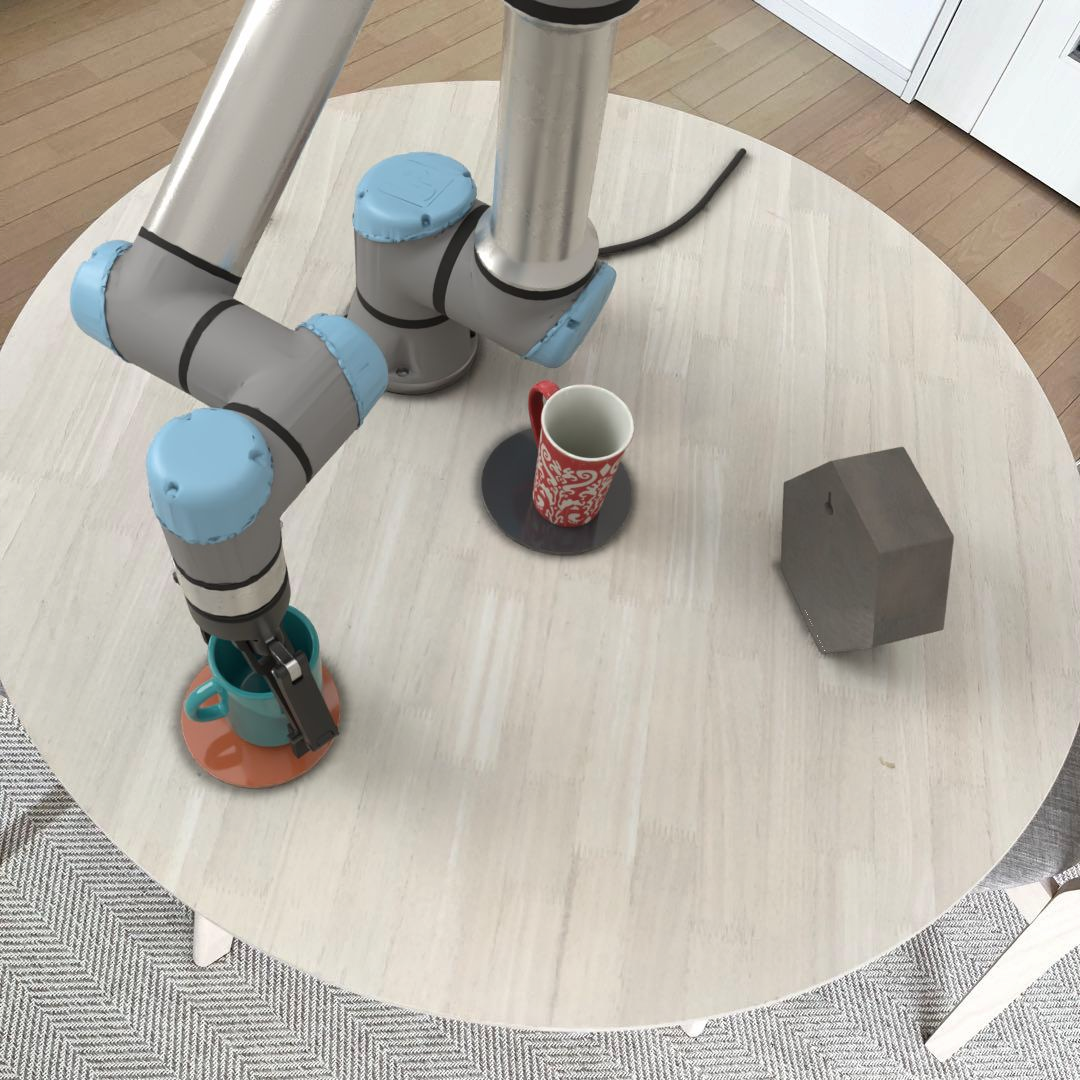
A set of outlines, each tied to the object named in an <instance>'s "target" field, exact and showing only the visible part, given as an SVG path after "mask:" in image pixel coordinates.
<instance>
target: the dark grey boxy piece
mask: <svg viewBox="0 0 1080 1080" xmlns="http://www.w3.org/2000/svg"><path fill="white" fill-rule="evenodd" d="M782 489H783V490H782V514H781V515H782V517H781V539H780V540H781V543H780V570H781V573H782V574H783V576H784V578H785V580H786V583H787V585H788V588H789V589H790V591H791V593H792V595H793V597H794V600H795V602H796V604H797V606H798V608H799V610H800V612H801V615H802V617H803V620H804V621H805V623H806V625H807V628H808V630H809V632H810V634H811V636H812V638H813V640H814V642H815V645H816V647H817V649H818V651H819V653H821V654H825V653H826V654H828V653H836V652H837V653H838V652H845V651H846V652H847V651H855V650H863V649H864V650H865V649H871V648H876V647H880V646H884V645H888V644H892V643H897V642H901V641H904V640H908V639H912V638H916V637H920V636H925V635H928V634H932V633H936V632H941V631H943V630H944V627H945V621H946V611H947V603H948V594H949V585H950V576H951V569H952V560H953V559H952V558H953V551H954V542H955V541H954V540H955V536H954V533H953V532H952V530H951V528H950V526H949V525H948V523H947V520H946V519H945V517H944V516H943V514H942V512H941V510H940V508H939V507H938V505H937V504H936V501H935V499H934V498H933V496H932V495H931V493H930V490H929V488H928V487H927V486H926V484H925V482H924V480H923V478H922V476H921V475H920V472H919V471H918V470H917V468H916V466H915V464H914V462H913V461H912V458H911V457H910V455H909V453H908V452H907V450H906V448H905V447H904V446H898V447H893V448H887V449H881V450H878V451H872V452H868V453H863V454H858V455H853V456H848V457H847V456H846V457H843V458H838V459H833V460H829V461H827V462H825V463H823V464H820V465H818V466H817V467H814V468H812V469H810V470H807V471H806V472H803V473H801V474H799V475H797V476H794V477H793V478H790V479H788V480H786V481H784V482H783V486H782ZM805 610H806V611H805ZM806 612H807V613H806ZM807 614H808V615H807ZM809 619H810V620H809ZM810 621H811V622H810ZM811 623H812V624H811ZM812 625H813V626H812ZM817 635H818V637H817ZM819 640H820V641H819ZM820 642H821V643H820ZM822 646H823V647H822ZM824 650H825V651H824Z"/></svg>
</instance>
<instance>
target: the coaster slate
mask: <svg viewBox="0 0 1080 1080" xmlns="http://www.w3.org/2000/svg"><path fill="white" fill-rule="evenodd" d="M537 459H538V448H537V445H536V441H535V438H534V434H533V430H532V427H531V428H528V429H524V430H522V431H519V432H516V433H514V434H512V435H510V436H509V437H507V438H505V440H502V442H500V443H499V444H498V445H497V446H496V447H495V448H494V449H493V450H492V451H491V453H490V454H489V456H488V457H487V459H486V461H485V463H484V466H483V468H482V472H481V478H480V494H481V499H482V502H483V506H484V508H485V510H486V512H487V515H488V516H489V518H490V519H491V521H492V522H493V524H494V525H495V526H496V527H497V528H498V530H500V531H501V532H502V533H503V534H504V536H506V537H508V538H509V539H510V540H512V541H513V542H515V543H517V544H518V545H521V546H522V547H525V548H527V549H529V550H532V551H535V552H538V553H541V554H547V555H554V556H567V555H568V556H569V555H571V556H573V555H579V554H583V553H586V552H589V551H593V550H595V549H597V548H599V547H601V546H603V545H604V544H606V543H607V542H609V541H610V540H611V539H613V538H614V537H615V536H616V535H617V534H618V533H619V532H620V530H621V529H622V528H623V526H624V524H625V523H626V521H627V518H628V516H629V515H630V511H631V506H632V498H633V493H632V491H633V490H632V484H631V479H630V476H629V475H628V472H627V470H626V468H625V466H624V464H623V462H622V460H621V461H620V463H619V466H618V468H617V470H616V472H615V475H614V477H613V480H612V482H611V484H610V486H609V489H608V491H607V493H606V495H605V498H604V500H603V503H602V505H601V508H600V510H599V512H598V514H597V515H596V516H595V517H594V518H593V519H592V520H591V521H590V522H588V523H586V524H584V525H581V526H577V527H564V526H559V525H556V524H553V523H551V522H550V521H548V520H546V519H545V518H544V517H543V516H542V515H541V514H540V513H539V512H538V510H537V508H536V507H535V504H534V500H533V487H534V480H535V473H536V466H537Z"/></svg>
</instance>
